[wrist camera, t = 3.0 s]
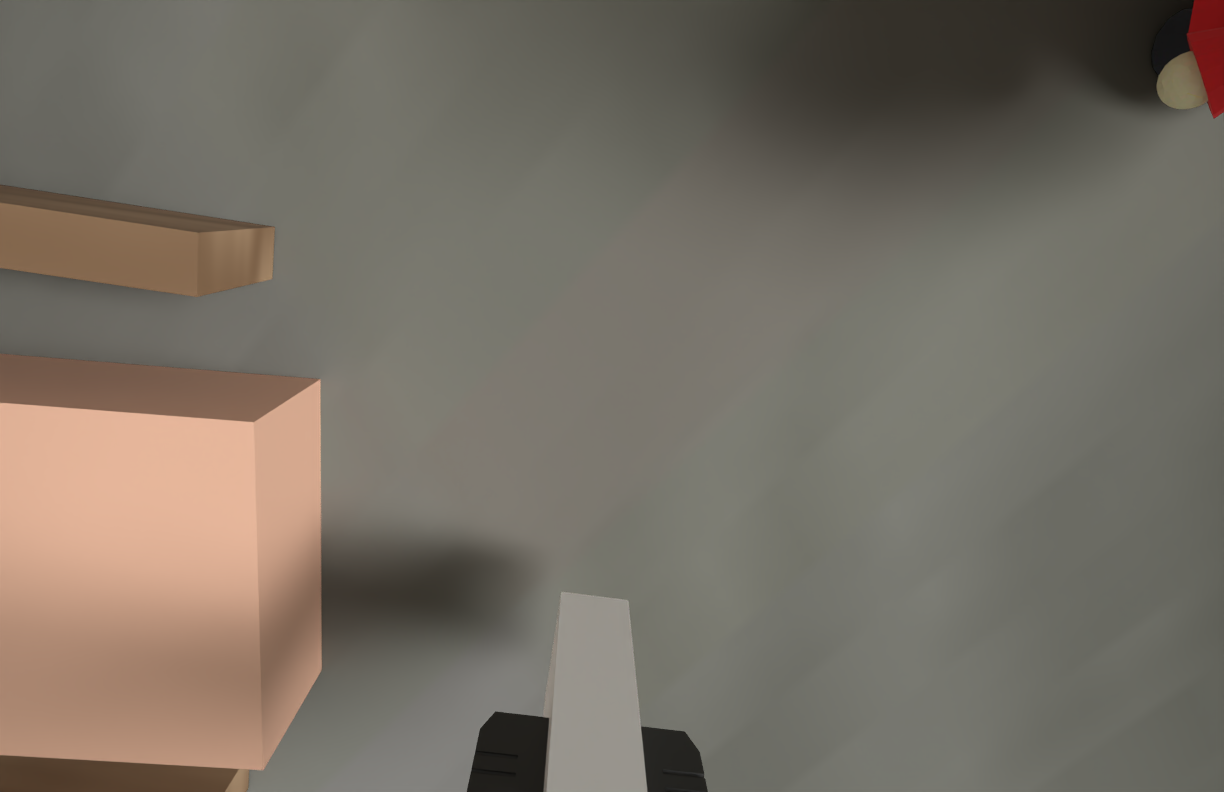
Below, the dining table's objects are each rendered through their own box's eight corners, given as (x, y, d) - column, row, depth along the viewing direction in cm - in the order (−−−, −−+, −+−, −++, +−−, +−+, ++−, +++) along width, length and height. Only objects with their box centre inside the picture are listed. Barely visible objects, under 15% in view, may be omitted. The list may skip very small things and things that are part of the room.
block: (-12, 349, 18) (-174, 389, 15) (324, 376, 19) (254, 422, 15) (21, 644, 20) (-114, 748, 17) (324, 663, 21) (263, 770, 17)
